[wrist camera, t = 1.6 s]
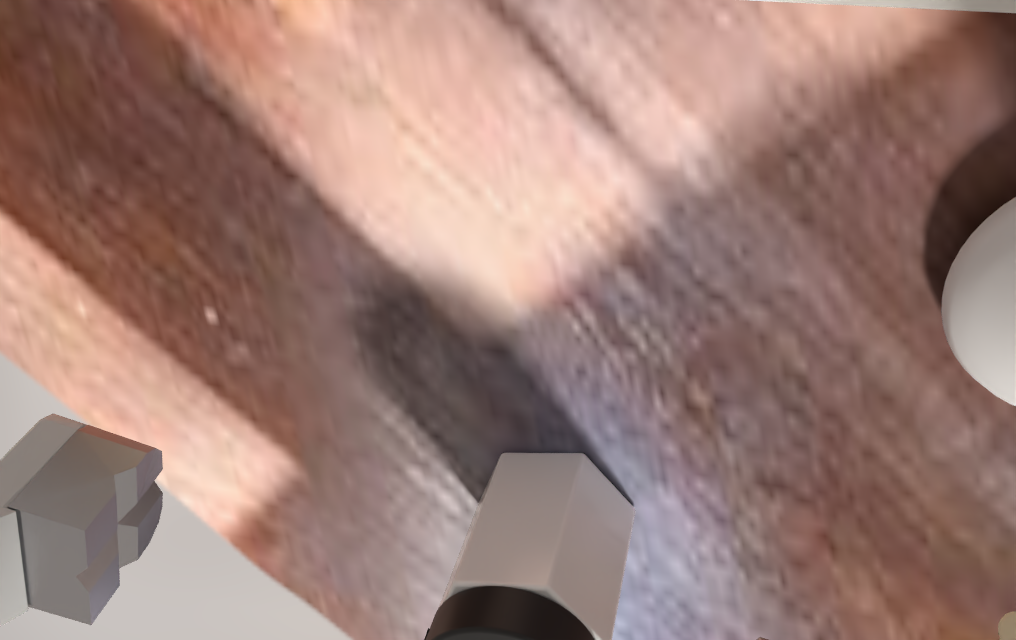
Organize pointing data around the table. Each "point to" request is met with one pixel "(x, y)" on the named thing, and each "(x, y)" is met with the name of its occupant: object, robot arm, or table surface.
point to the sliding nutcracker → (924, 4)
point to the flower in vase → (986, 316)
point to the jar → (539, 555)
